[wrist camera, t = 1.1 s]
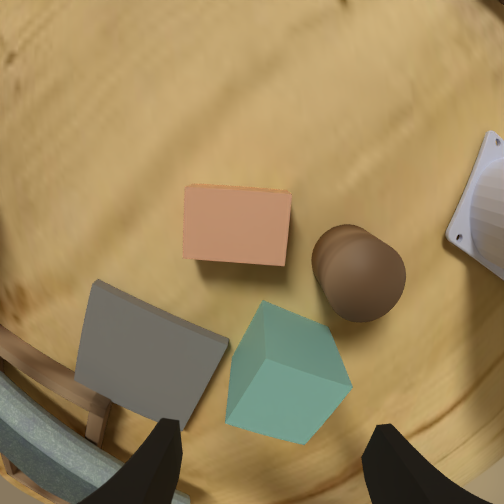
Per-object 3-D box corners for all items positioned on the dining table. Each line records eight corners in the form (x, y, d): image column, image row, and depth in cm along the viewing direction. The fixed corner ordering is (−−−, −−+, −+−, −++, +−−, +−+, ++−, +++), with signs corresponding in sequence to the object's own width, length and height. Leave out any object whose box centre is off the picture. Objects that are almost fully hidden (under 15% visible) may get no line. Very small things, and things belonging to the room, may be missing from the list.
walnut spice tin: (388, 242, 18) (419, 263, 14) (356, 300, 19) (378, 332, 15) (331, 212, 17) (353, 226, 13) (299, 275, 18) (310, 304, 14)
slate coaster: (228, 338, 19) (227, 345, 19) (183, 424, 22) (182, 431, 21) (98, 278, 18) (92, 283, 18) (77, 375, 21) (73, 381, 20)
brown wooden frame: (114, 392, 21) (105, 409, 19) (89, 508, 28) (85, 518, 26) (-8, 319, 20) (-21, 329, 18) (12, 464, 27) (7, 473, 25)
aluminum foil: (172, 506, 22) (191, 488, 22) (172, 556, 15) (195, 541, 16) (-32, 362, 18) (-23, 336, 18) (-74, 388, 12) (-68, 359, 12)
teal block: (328, 326, 19) (352, 387, 13) (294, 379, 20) (304, 444, 15) (262, 299, 19) (265, 358, 13) (232, 357, 20) (225, 423, 14)
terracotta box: (286, 189, 17) (291, 194, 15) (280, 252, 18) (284, 265, 16) (194, 183, 17) (185, 186, 15) (191, 245, 18) (182, 258, 16)
